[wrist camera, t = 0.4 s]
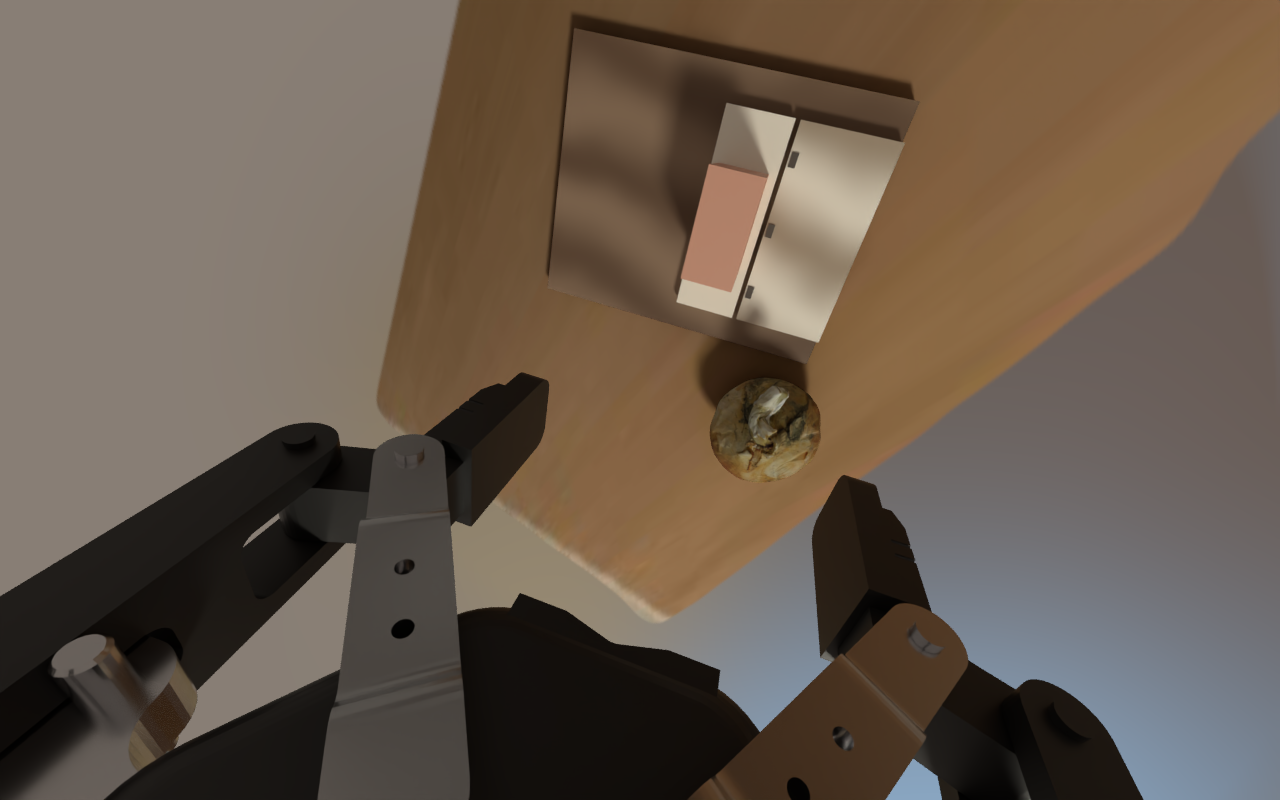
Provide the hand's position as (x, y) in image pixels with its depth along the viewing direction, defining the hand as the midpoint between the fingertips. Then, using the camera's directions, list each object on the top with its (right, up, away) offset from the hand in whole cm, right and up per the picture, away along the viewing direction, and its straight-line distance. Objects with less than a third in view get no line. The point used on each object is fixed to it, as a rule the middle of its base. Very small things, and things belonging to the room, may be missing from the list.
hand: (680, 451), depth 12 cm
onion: (+9, +1, +24) cm, 26 cm away
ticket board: (+3, +14, +19) cm, 24 cm away
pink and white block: (+5, +13, +17) cm, 22 cm away
